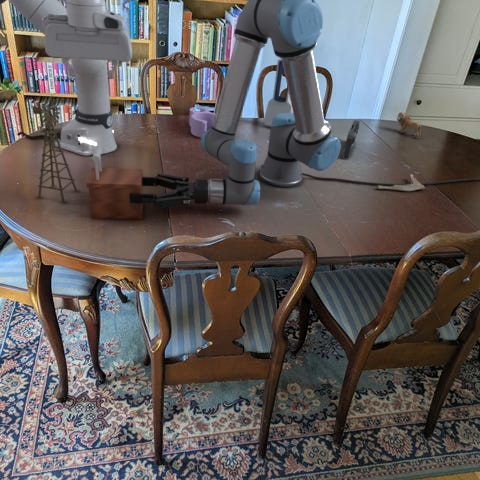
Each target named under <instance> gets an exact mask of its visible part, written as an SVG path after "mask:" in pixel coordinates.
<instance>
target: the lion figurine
mask: <svg viewBox="0 0 480 480" xmlns="http://www.w3.org/2000/svg"><path fill="white" fill-rule="evenodd" d="M396 121H397V122H398V123H399V126H401V130H400V131H399V132H400V133H401V134H403V133H404V132H406V129H410V130H411V129H413V131H414V133H413V136H414V138H415V139H418V138H419V136H420V137H421V136H422V137H421V138H422V139H423V138H424V136H423V135H422V125H421V123H420V122H419V121H414V120H412V119H411V117H410V116H409V115H408V114H407V113H406V112H403V111H402V112H398V114H397V117H396ZM416 136H418V137H416Z"/></svg>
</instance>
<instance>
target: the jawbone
mask: <svg viewBox="0 0 480 480" xmlns="http://www.w3.org/2000/svg"><path fill="white" fill-rule="evenodd" d="M409 179H410V183H408V184H409V185H394V186H384V185H376V188H377V189H380V190H391V191H400V192H409V193H410V192H415V191H419V190H425V189H426V187H425V185H422V184H421V183H422V182H419V181H418V179H417V177H415V176H414V174H413V173H410V174H409ZM410 184H411V185H410Z"/></svg>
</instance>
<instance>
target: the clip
mask: <svg viewBox="0 0 480 480" xmlns="http://www.w3.org/2000/svg"><path fill="white" fill-rule="evenodd" d="M215 113H216V112H211V111H210V109H209V108H206V107H203V106H200V107H199V111H196V108H195V107H190V108H189V118H188V119H189V120H188V121H189V122H188V125H189V127H190V134H191V135H193V136H195V137H197V138H201V137H202V135H203V134H204V133H205V131H207V130H208V129H211V127H212V123H213V120H214V116H215Z"/></svg>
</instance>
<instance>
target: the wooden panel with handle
mask: <svg viewBox="0 0 480 480" xmlns="http://www.w3.org/2000/svg"><path fill="white" fill-rule="evenodd" d="M101 153H102V148H101V147H96V149H95V152H94V154H92V158H91V159H92V161H93V163H94V167H91V169H90V172H89V175H88V177H87V181H86V188H89V187H94V188H133V189H141V182H142V174H143V173H144V172H143V169H142V168H114V167H111V168H110V167H102V159H101V158H102V157H101V156H102V154H101Z"/></svg>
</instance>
